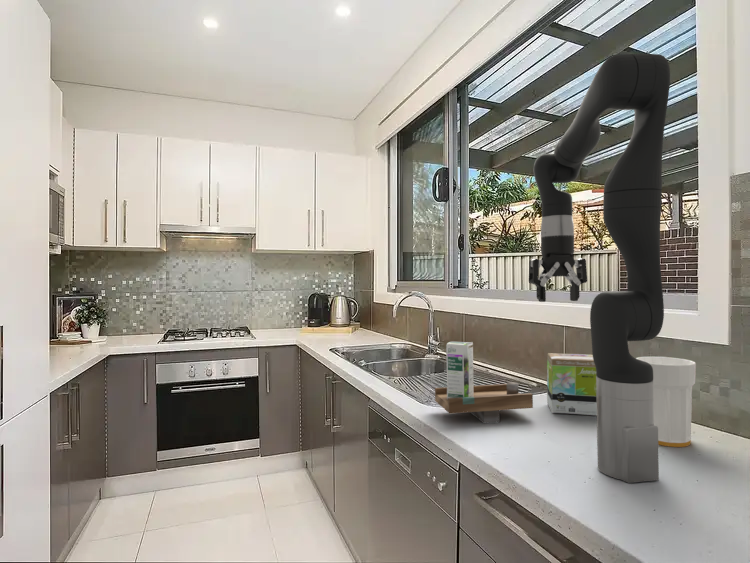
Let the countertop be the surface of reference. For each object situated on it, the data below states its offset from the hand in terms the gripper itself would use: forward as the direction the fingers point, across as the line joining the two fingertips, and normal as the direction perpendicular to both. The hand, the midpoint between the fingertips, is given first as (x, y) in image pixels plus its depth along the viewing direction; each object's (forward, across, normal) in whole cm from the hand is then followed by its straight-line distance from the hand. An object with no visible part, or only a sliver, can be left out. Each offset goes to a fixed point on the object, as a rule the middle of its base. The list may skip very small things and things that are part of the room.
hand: (558, 301), depth 112 cm
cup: (+30, +16, -15) cm, 37 cm away
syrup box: (+25, -22, +10) cm, 35 cm away
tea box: (+30, +11, +9) cm, 34 cm away
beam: (+30, -16, +10) cm, 36 cm away
